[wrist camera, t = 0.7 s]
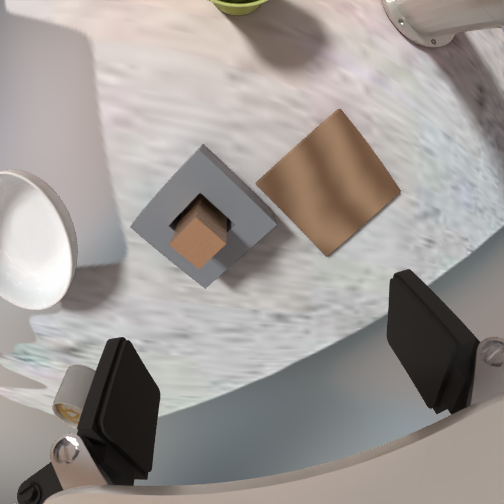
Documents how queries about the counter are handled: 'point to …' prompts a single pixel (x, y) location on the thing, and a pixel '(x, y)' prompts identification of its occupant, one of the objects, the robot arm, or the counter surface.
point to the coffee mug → (73, 394)
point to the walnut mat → (330, 183)
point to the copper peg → (200, 231)
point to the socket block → (220, 195)
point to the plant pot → (238, 6)
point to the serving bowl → (34, 242)
